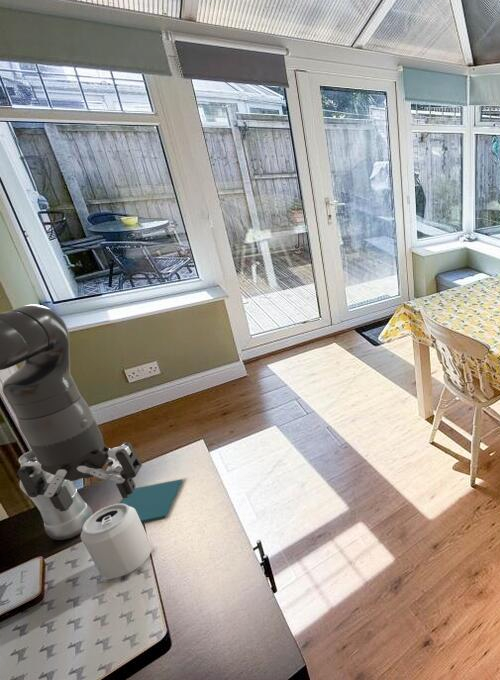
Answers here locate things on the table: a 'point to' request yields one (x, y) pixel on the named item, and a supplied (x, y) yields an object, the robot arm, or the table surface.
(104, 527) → the can
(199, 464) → the table surface
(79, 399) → the robot arm
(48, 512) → the plastic bottle
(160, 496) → the mat
